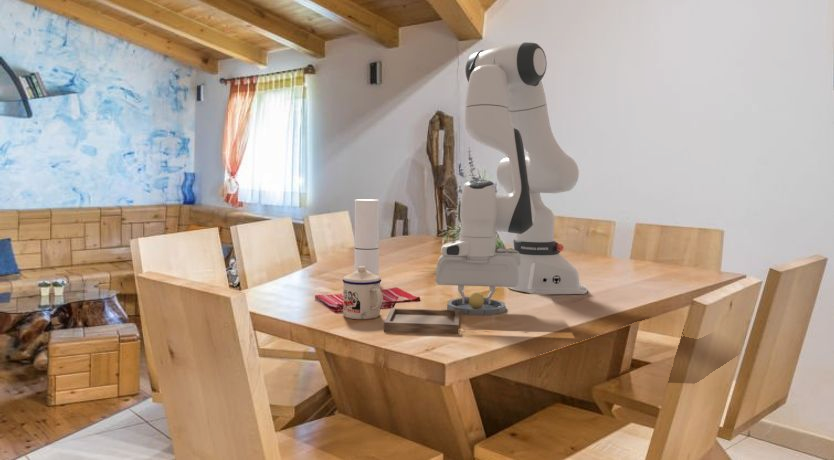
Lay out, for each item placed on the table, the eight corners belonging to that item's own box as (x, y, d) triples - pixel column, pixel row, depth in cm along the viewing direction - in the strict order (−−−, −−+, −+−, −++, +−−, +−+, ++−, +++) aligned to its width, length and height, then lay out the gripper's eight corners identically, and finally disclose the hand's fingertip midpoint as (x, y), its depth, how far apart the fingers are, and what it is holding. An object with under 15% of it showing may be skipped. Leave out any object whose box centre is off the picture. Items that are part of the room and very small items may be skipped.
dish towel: (422, 307, 167) (423, 297, 167) (334, 315, 157) (334, 304, 157) (396, 294, 182) (396, 285, 182) (313, 301, 172) (313, 291, 172)
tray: (459, 318, 153) (459, 310, 153) (458, 334, 139) (458, 324, 139) (391, 316, 154) (391, 308, 154) (383, 331, 140) (384, 322, 140)
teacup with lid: (334, 314, 155) (334, 266, 154) (365, 309, 161) (365, 262, 160) (365, 324, 146) (365, 273, 145) (396, 318, 152) (397, 269, 151)
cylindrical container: (380, 282, 198) (380, 199, 195) (376, 286, 191) (376, 200, 188) (356, 281, 199) (357, 199, 196) (352, 285, 192) (352, 200, 189)
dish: (503, 306, 166) (503, 298, 166) (506, 320, 152) (506, 310, 152) (448, 305, 167) (448, 296, 167) (446, 318, 153) (446, 308, 153)
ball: (484, 306, 161) (484, 290, 161) (484, 310, 157) (485, 293, 157) (467, 306, 162) (468, 290, 161) (467, 309, 158) (468, 293, 157)
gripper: (519, 246, 160) (518, 302, 162) (436, 244, 162) (435, 299, 163) (522, 250, 154) (520, 307, 156) (435, 248, 156) (434, 305, 157)
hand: (476, 303), depth 159 cm, fingers closed on ball, 4 cm apart
